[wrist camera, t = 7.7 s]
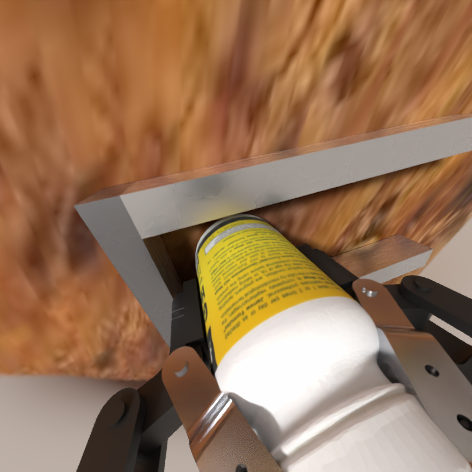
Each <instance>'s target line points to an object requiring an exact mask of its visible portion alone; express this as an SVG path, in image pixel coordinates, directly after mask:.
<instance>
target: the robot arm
mask: <svg viewBox="0 0 472 472" xmlns="http://www.w3.org/2000/svg"><path fill="white" fill-rule="evenodd" d="M295 247H296V248H297V249H298V250H299V251H300V252H301V253H302V254H304V255H305V256H306V257H307V258H308V259H309V260H310V261H311V262H313V263H314V264H315V265H316V266H317V267H318V268H319V269H320V270H321V271H323V272H324V273H325V274H326V275H327V276H328V277H329V278H330V279H332V280H333V281H334V282H335V283H336V284H337V285H339V286H340V287H341V288H342V289H343V290H344V291H345V292H346V293H348V294H349V295H350V296H351V297H352V298H353V299H354V300H355V301H357V302H358V303H359V304H360V305H361V307H362V308H363V309H364V310H365V311H366V312H367V313H368V314H369V316H370V317H371V318H372V320H373V322H374V324H375V326H376V329H377V332H378V337H379V354H378V359H377V365H378V367H379V368H380V370H381V371H382V373H383V374H384V375H385V376H386V378H387V379H388V380H389V381H390V382H391V383H392V384H394V383H400V384H403V385H404V386H405V387H406V392H407V393H408V394H410V395H413V396H414V397H415V398H416V399H417V401H418V402H419V404H420V405H421V406H422V408H423V409H424V410H425V412H426V413H427V414H428V416H429V417H430V419H431V420H432V421H433V422H434V423H435V424H436V426H437V427H438V428H439V429H440V430H441V431H442V432H443V433H444V435H445V436H446V437H447V438H448V439H449V440H450V441H451V443H452V444H453V445H454V446H455V447H456V448H457V449H458V451H459V452H460V453H461V454H462V455H463V456H464V458H465V459H466V460H467V461H468V463H469V464H470V466H471V468H472V346H471V345H469V344H467V343H465V342H464V341H462V340H460V339H459V338H457V337H455V336H454V335H452V334H451V333H449V332H447V331H446V330H444V329H443V328H441V327H439V326H438V325H436V324H435V323H433V322H431V321H430V320H429V319H430V317H431V316H432V315H434V316H436V317H438V318H440V319H441V320H443V321H445V322H446V323H448V324H450V325H451V326H453V327H455V328H456V329H458V330H460V331H462V332H463V333H465V334H466V335H468V336H470V337H471V338H472V299H470V298H468V297H466V296H464V295H462V294H460V293H457V292H455V291H453V290H451V289H449V288H447V287H445V286H443V285H441V284H439V283H436V282H434V281H432V280H430V279H428V278H425V277H421V276H415V275H410V276H405V277H404V278H403V279H402V281H401V283H400V284H395V285H382V284H380V283H378V282H376V281H374V280H370V279H359V278H358V277H357V276H355V275H354V274H353V273H351V272H350V271H349V270H347V269H346V268H345V267H343V266H342V265H341V264H339V263H338V262H336V261H335V260H334V259H332V258H330V256H328V255H327V254H326V253H324V252H322V251H320V250H317V249H312V248H311V247H309V246H308V245H307V244H302V245H298V246H295ZM171 319H172V321H171V340H170V353H169V357H168V358H167V359H166V361H165V363H164V365H163V368H162V369H161V370H160V372H159V373H158V374H157V375H155V376H154V377H153V378H152V379H150V380H149V381H148V382H147V383H145V384H144V385H143V386H141V387H140V388H139V389H138V390H135V389H133V388H125V389H122V390H120V391H119V392H117V393H116V394H114V395H113V396H112V397H111V398H110V399H109V400H108V401H107V403H106V404H105V405H104V406H103V408H102V409H101V411H100V413H99V415H98V417H97V419H96V421H95V424H94V427H93V429H92V432H91V435H90V437H89V440H88V442H87V445H86V448H85V450H84V453H83V456H82V458H81V461H80V464H79V466H78V469H77V471H76V472H164V467H165V458H166V450H167V441H168V438H169V437H170V436H171V435H172V434H173V433H174V432H175V431H176V430H177V429H178V428H179V427H180V426H181V425H182V424H183V426H184V429H185V431H186V433H187V435H188V438H189V442H190V443H189V445H190V449H191V452H192V454H193V457H194V460H195V462H196V464H197V466H198V469H199V471H200V472H283V471H282V469H281V468H280V467H279V465H278V464H277V462H276V461H275V460H274V458H273V457H272V455H271V454H270V453H269V451H268V450H267V448H266V447H265V446H264V444H263V443H262V442H261V440H260V439H259V437H258V436H257V435H256V433H255V432H254V430H253V429H252V428H251V426H250V425H249V423H248V422H247V421H246V419H245V418H244V416H243V415H242V414H241V412H240V411H239V409H238V408H237V407H236V405H235V404H234V402H233V401H232V400H231V399H230V397H229V396H228V395H227V394H223V393H222V391H221V390H220V388H219V385H218V382H217V381H216V379H215V378H214V377H213V375H212V374H211V369H210V360H209V352H208V347H207V339H206V332H205V326H204V320H203V313H202V306H201V298H200V291H199V285H198V281H197V279H196V278H195V279H192V280H188V281H185V282H183V292H181V293H178V294H176V296H175V298H174V300H173V302H172V317H171Z"/></svg>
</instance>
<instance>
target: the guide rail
mask: <svg viewBox="0 0 472 472" xmlns="http://www.w3.org/2000/svg"><path fill="white" fill-rule="evenodd" d="M471 150H472V113H469V114H460V115H451V116H442V117H437V118H432V119H428V120H423V121H418V122H413V123H409V124H404V125H399V126H395V127H390V128H385V129H381V130H376V131H371V132H366V133H362V134H357V135H352V136H348V137H343V138H338V139H334V140H329V141H324V142H320V143H315V144H310V145H305V146H301V147H296V148H291V149H287V150H282V151H277V152H273V153H268V154H263V155H259V156H254V157H249V158H244V159H240V160H235V161H230V162H226V163H221V164H216V165H212V166H207V167H202V168H198V169H193V170H188V171H183V172H179V173H174V174H169V175H165V176H160V177H155V178H151V179H146V180H141V181H137V182H132V183H127V184H122V185H118V186H113V187H108V188H104V189H102V190H100V191H98V192H97V193H95V194H93V195H92V196H90V197H88V198H86V199H85V200H83V201H81V202H79V203H78V204H76V205H74V207H75V209H76V210H77V212H78V213H79V215H80V216H81V218H82V219H83V221H84V222H85V223H86V225H87V226H88V228H89V229H90V231H91V232H92V234H93V235H94V237H95V238H96V240H97V241H98V243H99V244H100V246H101V247H102V249H103V250H104V252H105V253H106V254H107V256H108V257H109V259H110V260H111V262H112V263H113V265H114V266H115V268H116V269H117V271H118V272H119V274H120V275H121V277H122V278H123V280H124V281H125V283H126V284H127V285H128V287H129V288H130V290H131V291H132V293H133V294H134V296H135V297H136V299H137V300H138V302H139V303H140V305H141V306H142V308H143V309H144V311H145V312H146V313H147V315H148V316H149V318H150V319H151V321H152V322H153V324H154V325H155V327H156V328H157V330H158V331H159V333H160V334H161V336H162V337H163V339H164V340H165V342H166V343H167V344H168V346H169V347H170V340H171V321H172V319H171V317H172V302H173V300H174V298H175V296H176V294H178V293H181V292H183V286H182V283H181V281H180V279H179V277H178V274H177V272H176V270H175V268H174V265H173V263H172V261H171V259H170V257H169V254H168V252H167V250H166V248H165V245H164V243H163V241H162V239H161V236H160V234H163V233H167V232H171V231H174V230H178V229H182V228H185V227H189V226H193V225H197V224H200V223H204V222H208V221H211V220H215V219H219V218H223V217H226V216H230V215H234V214H237V213H241V212H245V211H249V210H252V209H256V208H260V207H263V206H267V205H271V204H275V203H278V202H282V201H286V200H289V199H293V198H297V197H301V196H304V195H308V194H312V193H315V192H319V191H323V190H327V189H330V188H334V187H338V186H341V185H345V184H349V183H352V182H356V181H360V180H364V179H367V178H371V177H375V176H378V175H382V174H386V173H390V172H393V171H397V170H401V169H404V168H408V167H412V166H416V165H419V164H423V163H427V162H430V161H434V160H438V159H442V158H445V157H449V156H453V155H456V154H460V153H464V152H468V151H471ZM432 251H433V249H432V248H429V247H427V246H425V245H422V244H420V243H417V242H415V241H412V240H410V239H407V238H405V237H402V236H400V235H395V236H392V237H389V238H386V239H383V240H380V241H378V242H375V243H372V244H369V245H366V246H363V247H360V248H358V249H355V250H352V251H349V252H346V253H343V254H341V255H338V256H335V257H332V259H334V260H335V261H336V262H338V263H339V264H341V265H342V266H343V267H345V268H346V269H347V270H349V271H350V272H351V273H353V274H354V275H355V276H357V277H358V278H359V279H370V280H374V281H376V282H378V283H380V284H381V283H383V282H386V281H388V280H391V279H393V278H396V277H398V276H401V275H403V274H405V273H408V272H410V271H413V270H415V269H418V268H420V267H423V266H425V264H426V262H427V260H428V258H429V256H430V254H431V252H432Z"/></svg>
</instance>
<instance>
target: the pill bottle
mask: <svg viewBox="0 0 472 472" xmlns="http://www.w3.org/2000/svg"><path fill="white" fill-rule="evenodd" d="M195 260H196V261H195V263H196V271H197V277H198V285H199V291H200V298H201V306H202V313H203V320H204V326H205V332H206V339H207V347H208V352H209V360H210V368H211V374H212V375H213V377H214V378H215V379H216V381H217V382H218V385H219V388H220V390H221V391H222V393H223V394H227V395H228V396H229V397H230V399H231V400H232V401H233V402H234V404H235V405H236V407H237V408H238V409H239V411H240V412H241V414H242V415H243V416H244V418H245V419H246V421H247V422H248V423H249V425H250V426H251V428H252V429H253V430H254V432H255V433H256V435H257V436H258V437H259V439H260V440H261V442H262V443H263V444H264V446H265V447H266V448H267V450H268V451H269V453H270V454H271V455H272V457H273V458H274V460H275V461H276V462H277V464H278V465H279V467H280V468H281V469H282V471H283V472H472V468H471V466H470V464H469V463H468V461H467V460H466V459H465V458H464V456H463V455H462V454H461V453H460V452H459V451H458V449H457V448H456V447H455V446H454V445H453V444H452V443H451V441H450V440H449V439H448V438H447V437H446V436H445V435H444V433H443V432H442V431H441V430H440V429H439V428H438V427H437V426H436V424H435V423H434V422H433V421H432V420H431V419H430V417H429V416H428V414H427V413H426V412H425V410H424V409H423V408H422V406H421V405H420V404H419V402H418V401H417V399H416V398H415V397H414V396H413V395H410V394H408V393H407V392H406V387H405V386H404V385H403V384H400V383H394V384H392V383H391V382H390V381H389V380H388V379H387V378H386V376H385V375H384V374H383V373H382V371H381V370H380V368H379V367H378V365H377V359H378V354H379V337H378V332H377V329H376V326H375V324H374V322H373V320H372V318H371V317H370V316H369V314H368V313H367V312H366V311H365V310H364V309H363V308H362V307H361V305H360V304H359V303H358V302H357V301H355V300H354V299H353V298H352V297H351V296H350V295H349V294H348V293H346V292H345V291H344V290H343V289H342V288H341V287H340V286H339V285H337V284H336V283H335V282H334V281H333V280H332V279H330V278H329V277H328V276H327V275H326V274H325V273H324V272H323V271H321V270H320V269H319V268H318V267H317V266H316V265H315V264H314V263H313V262H311V261H310V260H309V259H308V258H307V257H306V256H305V255H304V254H302V253H301V252H300V251H299V250H298V249H297V248H296V247H295V246H294V245H293V244H291V243H290V242H289V241H288V240H287V239H286V238H285V237H284V236H282V235H281V234H280V233H279V232H278V231H277V230H276V229H275V228H273V227H272V226H271V225H270V224H269V223H267V222H266V221H265V220H263V219H262V218H260V217H257V216H254V215H250V214H235V215H231V216H228V217H225V218H223V219H220V220H219V221H217V222H215V223H214V224H213V225H211V226H210V227H209V228H208V229H207V230H206V231H205V232H204V234H203V235H202V236H201V238H200V240H199V242H198V245H197V248H196V254H195Z"/></svg>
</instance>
